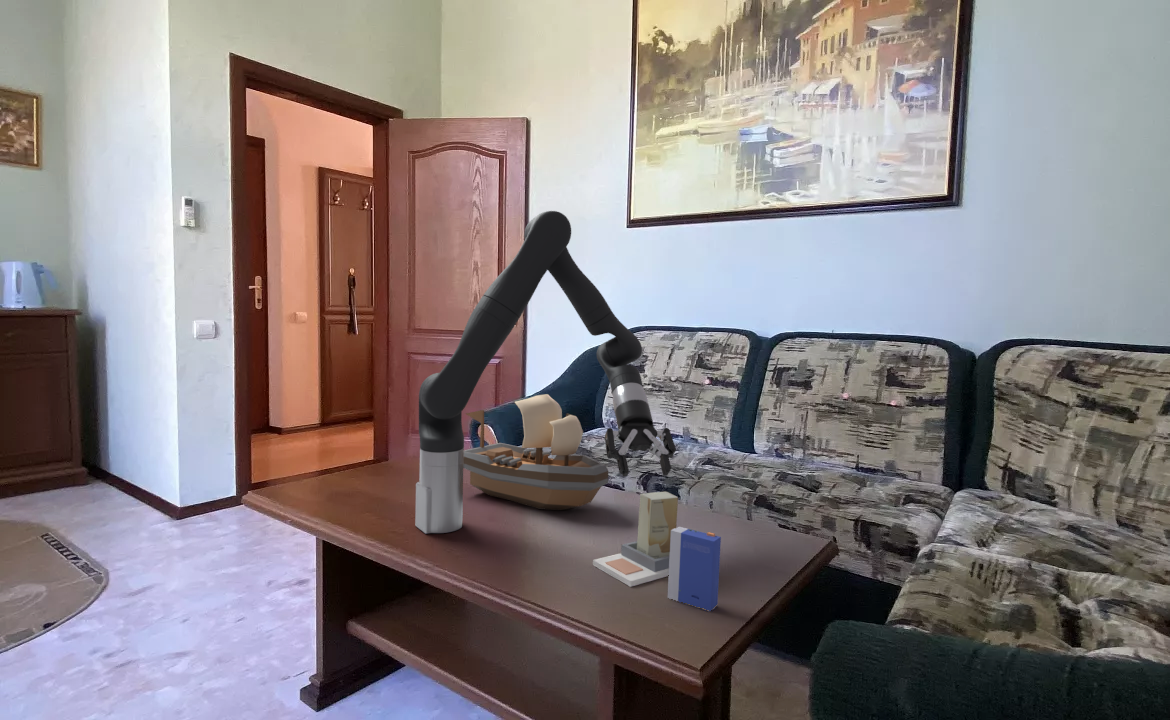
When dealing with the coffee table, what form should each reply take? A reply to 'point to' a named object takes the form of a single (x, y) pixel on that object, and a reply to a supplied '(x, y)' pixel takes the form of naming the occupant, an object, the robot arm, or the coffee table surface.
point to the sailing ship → (537, 461)
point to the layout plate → (633, 565)
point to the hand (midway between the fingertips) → (646, 474)
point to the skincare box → (656, 523)
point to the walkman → (694, 567)
